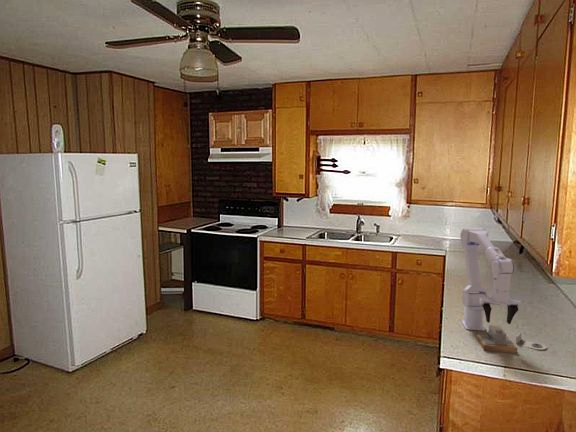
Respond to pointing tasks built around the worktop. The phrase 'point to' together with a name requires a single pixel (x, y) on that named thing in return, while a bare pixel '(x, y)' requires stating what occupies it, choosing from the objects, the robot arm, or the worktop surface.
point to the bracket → (530, 344)
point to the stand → (490, 346)
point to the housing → (497, 335)
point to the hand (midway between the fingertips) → (498, 322)
